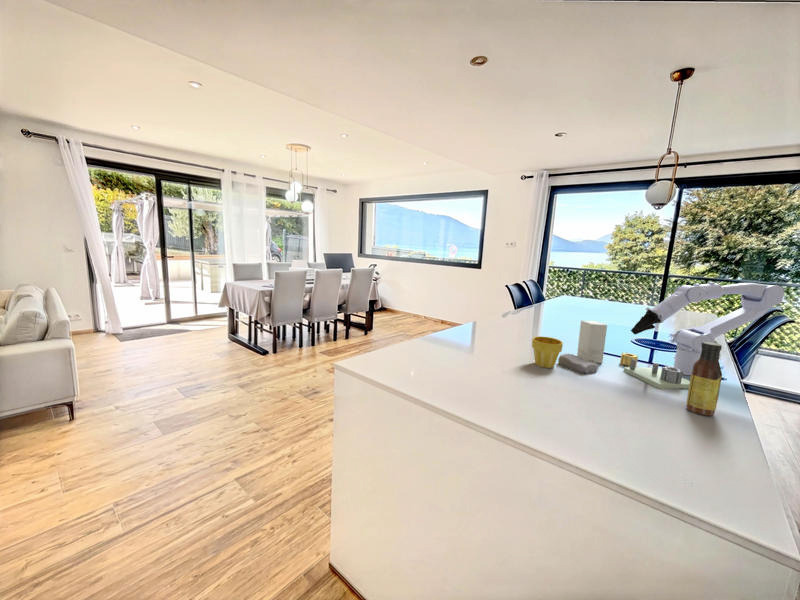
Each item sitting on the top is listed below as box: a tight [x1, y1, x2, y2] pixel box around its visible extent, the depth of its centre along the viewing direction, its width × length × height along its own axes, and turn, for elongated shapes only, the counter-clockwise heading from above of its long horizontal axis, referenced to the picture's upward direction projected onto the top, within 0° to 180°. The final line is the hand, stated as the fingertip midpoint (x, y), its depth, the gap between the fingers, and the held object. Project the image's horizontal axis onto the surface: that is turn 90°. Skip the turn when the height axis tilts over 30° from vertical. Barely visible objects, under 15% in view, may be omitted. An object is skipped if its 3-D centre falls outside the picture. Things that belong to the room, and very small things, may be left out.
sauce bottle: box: [685, 342, 723, 417], centre depth 94 cm, size 7×6×20 cm
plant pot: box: [531, 335, 564, 369], centre depth 126 cm, size 10×10×10 cm
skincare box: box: [576, 320, 608, 364], centre depth 135 cm, size 8×7×16 cm
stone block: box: [557, 353, 599, 375], centre depth 126 cm, size 12×5×10 cm
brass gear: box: [619, 352, 639, 368], centre depth 132 cm, size 5×5×4 cm
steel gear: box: [660, 366, 684, 384], centre depth 113 cm, size 5×5×4 cm
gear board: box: [623, 359, 690, 390], centre depth 118 cm, size 14×15×6 cm
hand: (634, 330), depth 127 cm, fingers open, 7 cm apart
